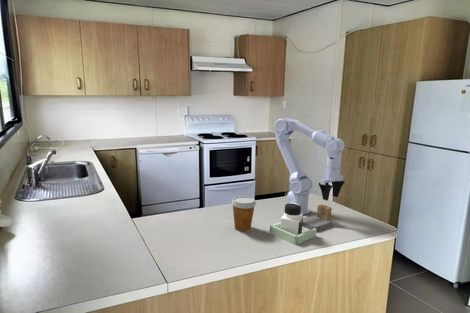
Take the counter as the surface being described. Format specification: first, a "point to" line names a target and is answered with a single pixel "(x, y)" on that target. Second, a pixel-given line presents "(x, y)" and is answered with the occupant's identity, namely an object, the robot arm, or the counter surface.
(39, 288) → the counter surface
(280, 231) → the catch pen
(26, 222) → the counter surface
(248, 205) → the disposable coffee cup
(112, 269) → the counter surface
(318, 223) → the scraper
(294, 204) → the medicine bottle
